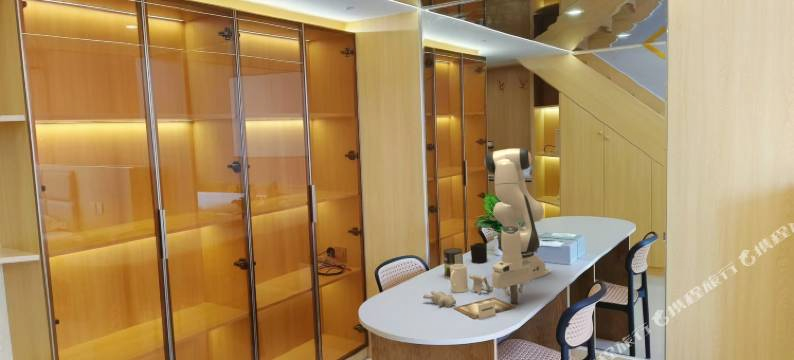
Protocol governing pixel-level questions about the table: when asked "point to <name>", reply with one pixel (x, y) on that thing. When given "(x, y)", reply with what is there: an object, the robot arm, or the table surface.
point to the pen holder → (479, 253)
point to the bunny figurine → (441, 299)
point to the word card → (486, 309)
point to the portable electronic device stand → (480, 283)
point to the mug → (458, 278)
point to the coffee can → (452, 259)
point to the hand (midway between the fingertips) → (514, 294)
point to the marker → (514, 294)
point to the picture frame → (472, 308)
